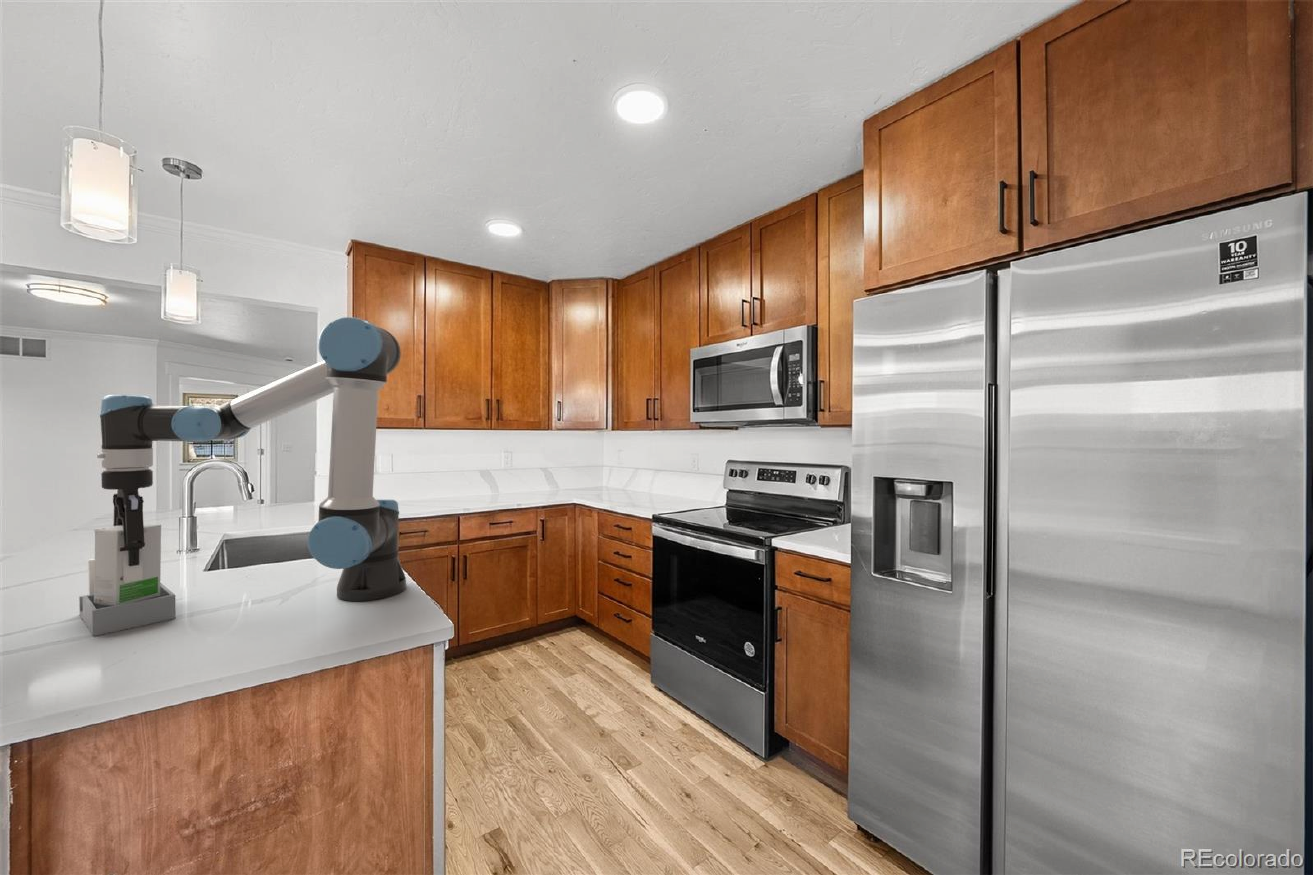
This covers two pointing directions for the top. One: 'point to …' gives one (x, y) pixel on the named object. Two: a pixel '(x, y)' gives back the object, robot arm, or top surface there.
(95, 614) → the grey open box
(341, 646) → the top surface
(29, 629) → the top surface
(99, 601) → the skincare box
